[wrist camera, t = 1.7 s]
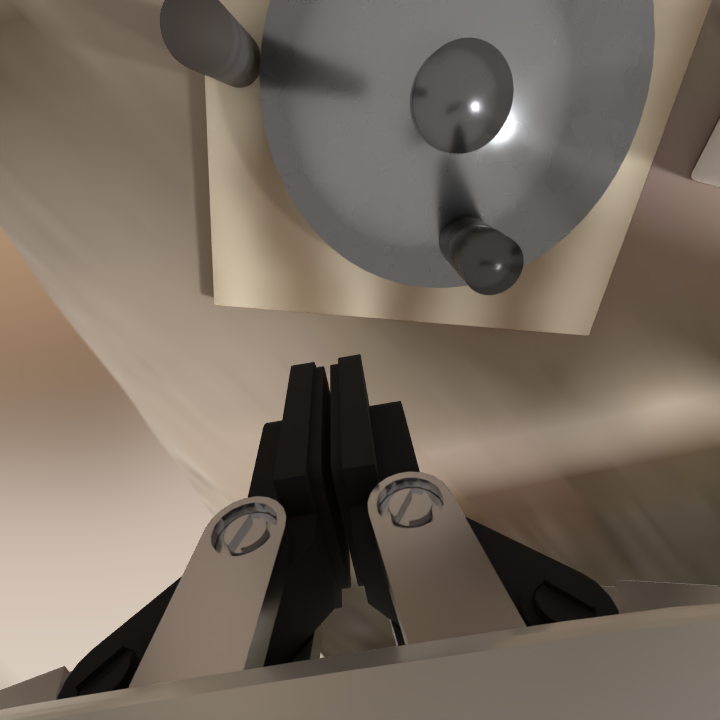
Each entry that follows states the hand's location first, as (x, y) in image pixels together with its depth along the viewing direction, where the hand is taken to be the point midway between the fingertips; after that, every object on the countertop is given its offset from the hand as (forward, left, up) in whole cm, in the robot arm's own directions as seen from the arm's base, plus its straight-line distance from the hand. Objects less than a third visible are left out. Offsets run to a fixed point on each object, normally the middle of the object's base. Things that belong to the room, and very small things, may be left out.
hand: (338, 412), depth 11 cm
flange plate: (-5, -9, -16) cm, 19 cm away
